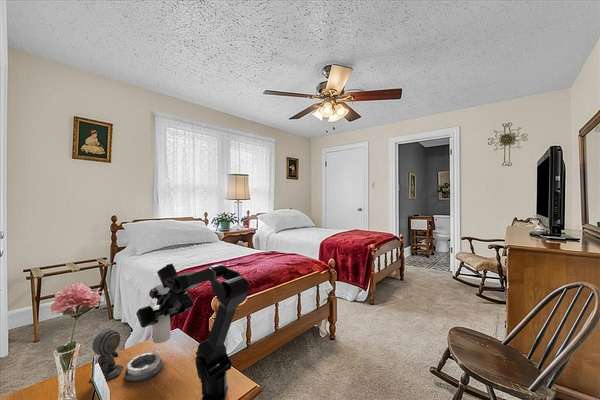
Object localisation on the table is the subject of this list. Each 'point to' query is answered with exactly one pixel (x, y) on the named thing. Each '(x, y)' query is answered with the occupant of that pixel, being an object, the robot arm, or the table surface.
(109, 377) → the figurine
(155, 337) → the white domed cylinder
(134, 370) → the mount
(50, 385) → the table surface
